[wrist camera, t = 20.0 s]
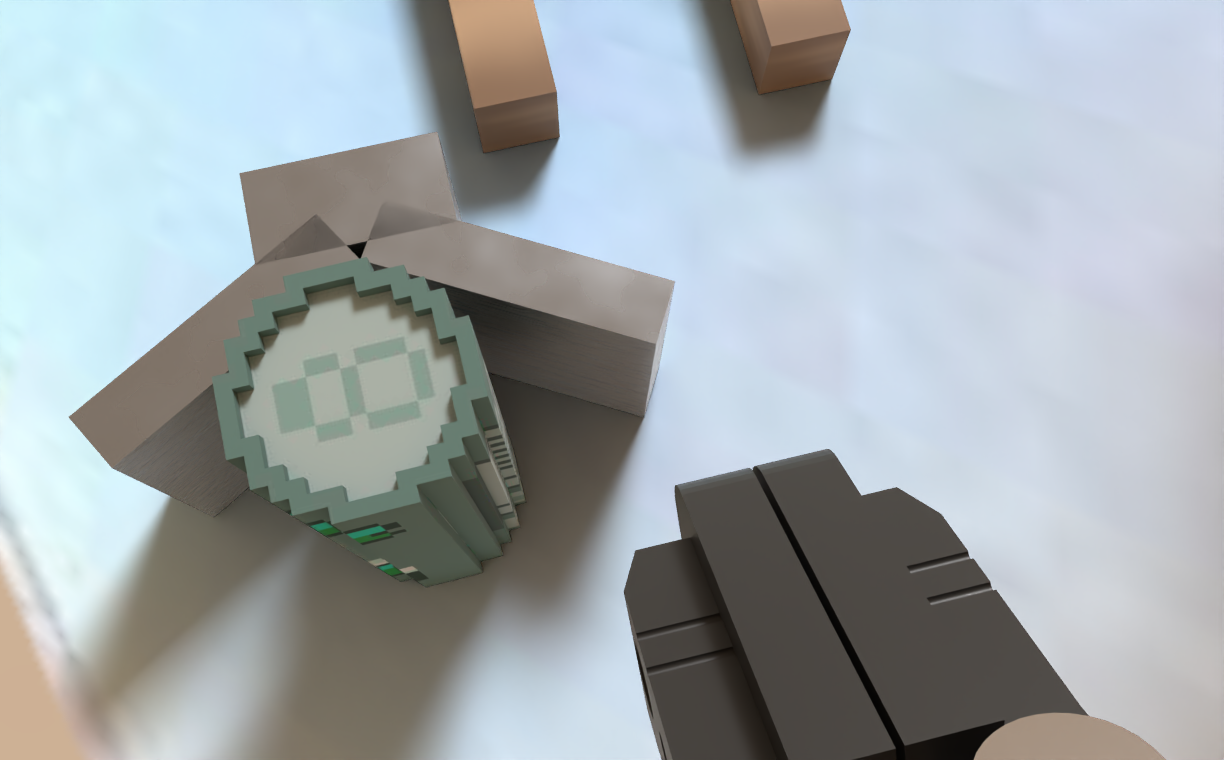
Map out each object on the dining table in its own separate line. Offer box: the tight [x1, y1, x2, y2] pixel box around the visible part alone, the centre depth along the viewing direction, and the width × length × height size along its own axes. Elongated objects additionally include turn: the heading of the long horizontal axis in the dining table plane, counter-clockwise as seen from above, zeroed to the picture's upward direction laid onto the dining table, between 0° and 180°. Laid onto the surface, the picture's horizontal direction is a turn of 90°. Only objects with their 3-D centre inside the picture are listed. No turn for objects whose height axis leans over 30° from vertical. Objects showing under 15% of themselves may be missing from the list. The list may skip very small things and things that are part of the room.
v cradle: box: [69, 132, 675, 517], centre depth 38 cm, size 8×18×9 cm, turn 104°
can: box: [212, 257, 526, 587], centre depth 34 cm, size 6×6×15 cm
